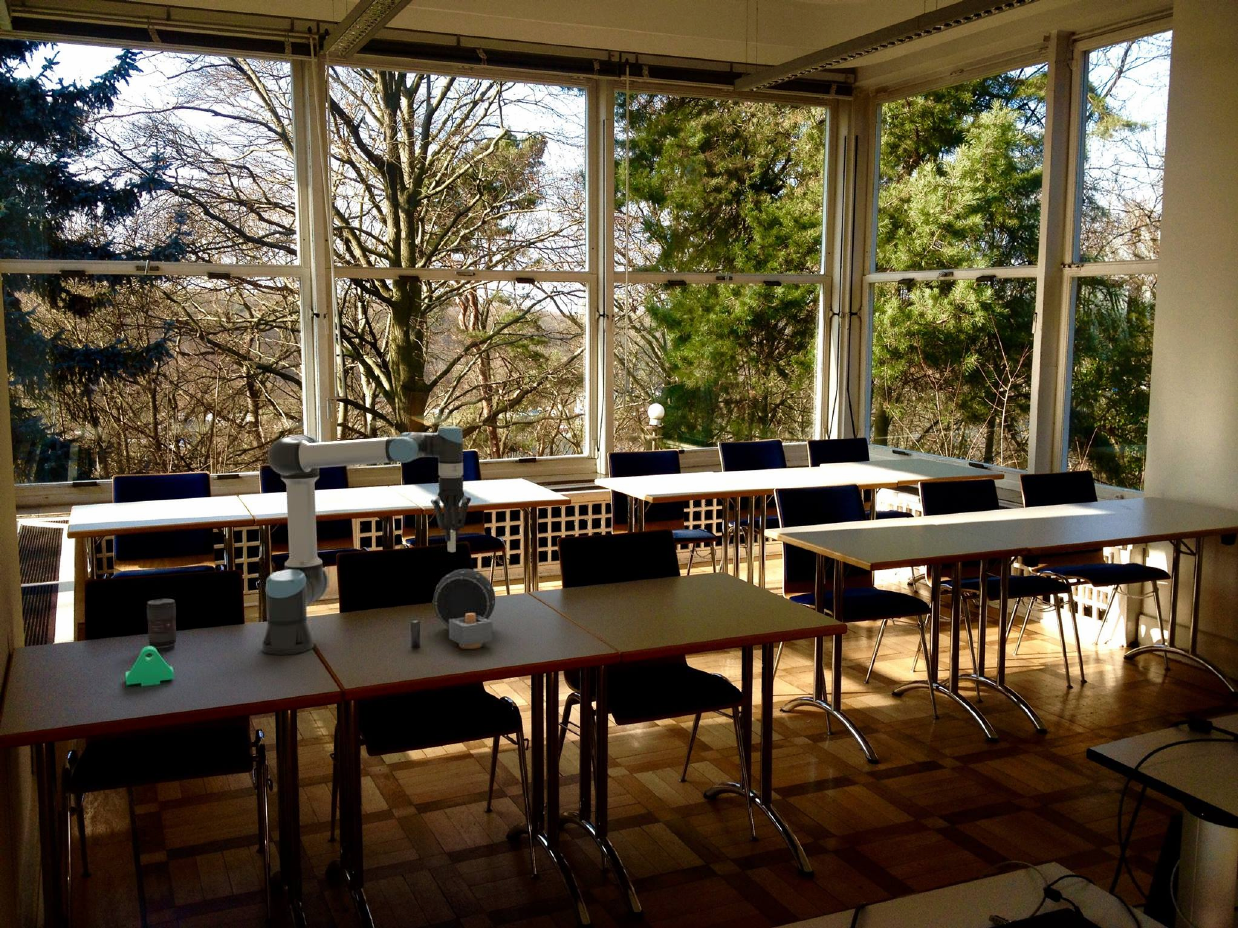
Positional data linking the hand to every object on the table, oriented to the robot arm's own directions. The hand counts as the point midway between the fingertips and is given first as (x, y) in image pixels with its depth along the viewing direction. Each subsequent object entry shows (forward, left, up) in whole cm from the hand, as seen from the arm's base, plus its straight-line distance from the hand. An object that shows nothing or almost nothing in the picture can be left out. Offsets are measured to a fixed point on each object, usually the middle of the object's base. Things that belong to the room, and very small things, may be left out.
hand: (451, 551), depth 332 cm
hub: (+6, -5, -29) cm, 30 cm away
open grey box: (+6, -5, -27) cm, 28 cm away
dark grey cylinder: (-88, -2, -29) cm, 93 cm away
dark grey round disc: (+3, +14, -29) cm, 33 cm away
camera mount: (-81, -33, -30) cm, 93 cm away
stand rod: (-11, -5, -29) cm, 31 cm away
